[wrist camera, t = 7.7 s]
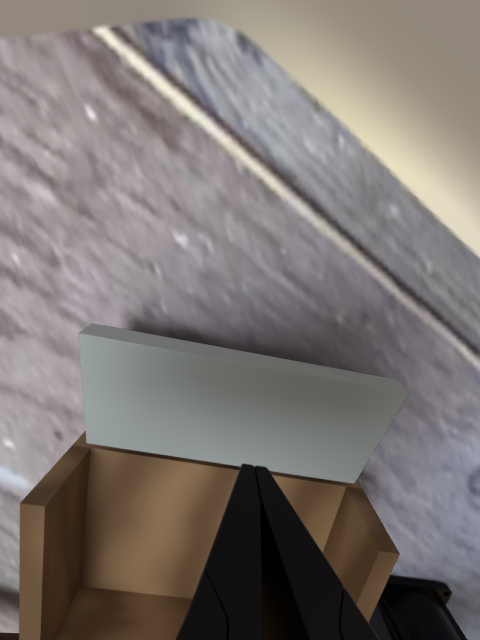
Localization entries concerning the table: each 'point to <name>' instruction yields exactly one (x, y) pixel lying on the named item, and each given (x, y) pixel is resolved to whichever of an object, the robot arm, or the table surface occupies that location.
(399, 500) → the table surface
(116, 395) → the panel
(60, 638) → the tray
